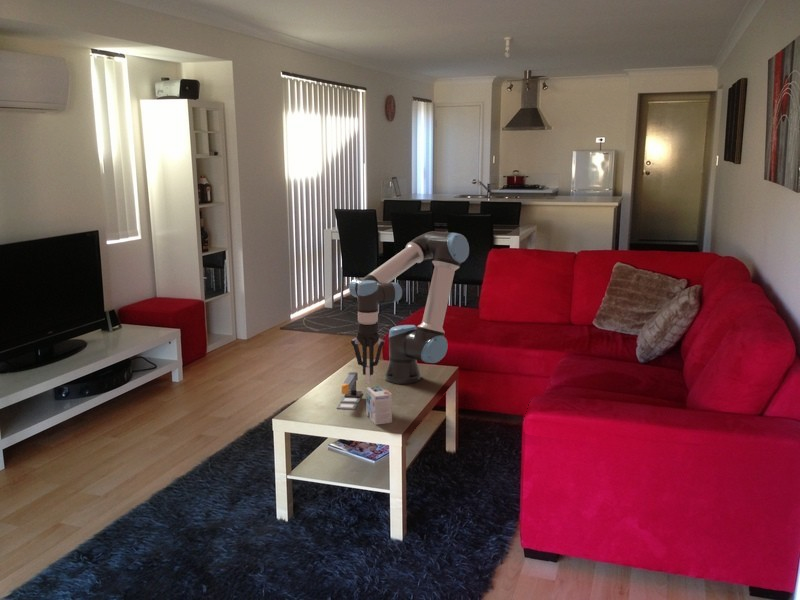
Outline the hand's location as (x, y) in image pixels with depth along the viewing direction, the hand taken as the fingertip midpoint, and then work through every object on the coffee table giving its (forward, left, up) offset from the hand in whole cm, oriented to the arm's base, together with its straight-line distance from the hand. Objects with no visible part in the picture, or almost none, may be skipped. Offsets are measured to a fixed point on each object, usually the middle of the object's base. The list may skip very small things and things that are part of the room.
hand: (368, 382), depth 267 cm
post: (+8, -10, -9) cm, 16 cm away
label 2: (+8, +3, -9) cm, 12 cm away
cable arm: (+8, -3, -3) cm, 9 cm away
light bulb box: (-6, +14, -9) cm, 18 cm away
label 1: (+8, -4, -9) cm, 13 cm away
